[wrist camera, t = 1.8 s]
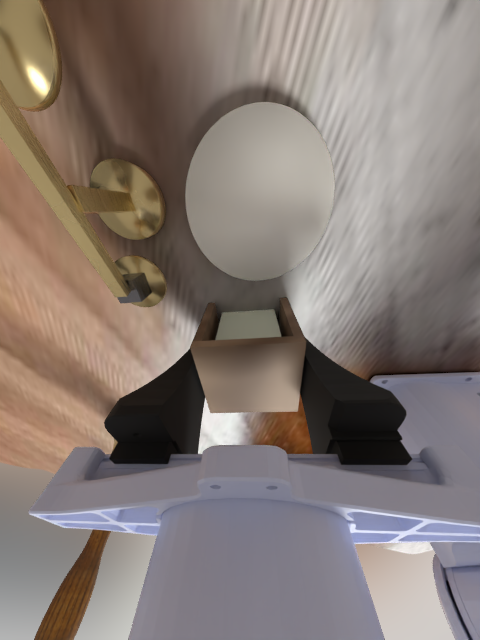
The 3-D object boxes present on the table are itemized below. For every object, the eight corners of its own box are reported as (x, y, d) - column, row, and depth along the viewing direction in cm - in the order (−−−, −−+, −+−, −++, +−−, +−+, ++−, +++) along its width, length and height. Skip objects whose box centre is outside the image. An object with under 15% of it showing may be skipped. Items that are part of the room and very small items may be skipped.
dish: (339, 100, 8) (350, 87, 7) (317, 271, 12) (322, 275, 11) (173, 125, 8) (165, 116, 8) (205, 280, 12) (202, 285, 12)
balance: (122, 40, 7) (-142, -315, 2) (187, 289, 13) (150, 339, 8) (41, 56, 8) (-346, -232, 3) (140, 293, 13) (76, 343, 8)
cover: (286, 297, 13) (306, 341, 9) (284, 356, 16) (297, 411, 12) (208, 303, 13) (190, 347, 9) (220, 359, 16) (210, 412, 12)
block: (274, 308, 14) (282, 341, 10) (273, 348, 16) (281, 387, 12) (222, 312, 14) (214, 345, 10) (228, 350, 16) (223, 389, 13)
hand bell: (150, 408, 21) (-25, 766, 8) (188, 440, 25) (118, 715, 11) (99, 421, 23) (-111, 723, 10) (142, 449, 27) (36, 692, 13)
